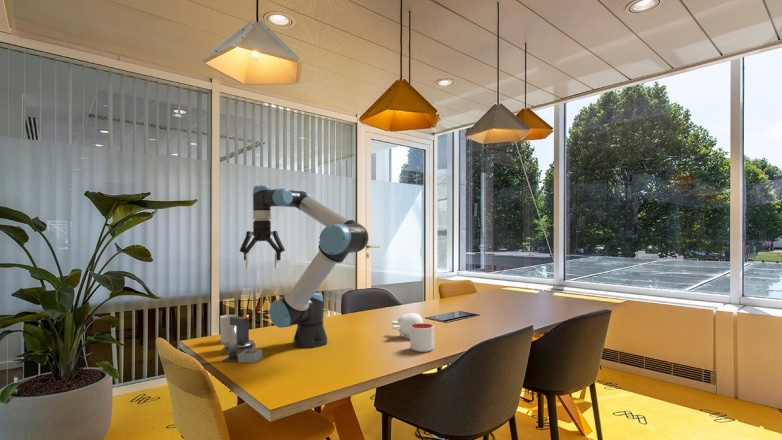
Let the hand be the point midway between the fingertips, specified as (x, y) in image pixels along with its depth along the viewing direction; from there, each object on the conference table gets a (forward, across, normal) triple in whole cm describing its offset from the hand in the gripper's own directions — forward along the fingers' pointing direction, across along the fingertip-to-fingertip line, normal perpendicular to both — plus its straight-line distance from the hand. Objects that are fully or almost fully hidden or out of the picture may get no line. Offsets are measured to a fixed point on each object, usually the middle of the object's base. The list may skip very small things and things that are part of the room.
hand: (262, 267), depth 194 cm
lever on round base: (+33, +7, +8) cm, 34 cm away
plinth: (+35, +7, +8) cm, 36 cm away
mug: (+35, +20, -6) cm, 41 cm away
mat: (+35, +3, +21) cm, 41 cm away
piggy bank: (+35, -62, -22) cm, 74 cm away
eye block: (+35, -4, +20) cm, 40 cm away
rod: (+34, +3, +21) cm, 40 cm away
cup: (+35, -71, -1) cm, 79 cm away
